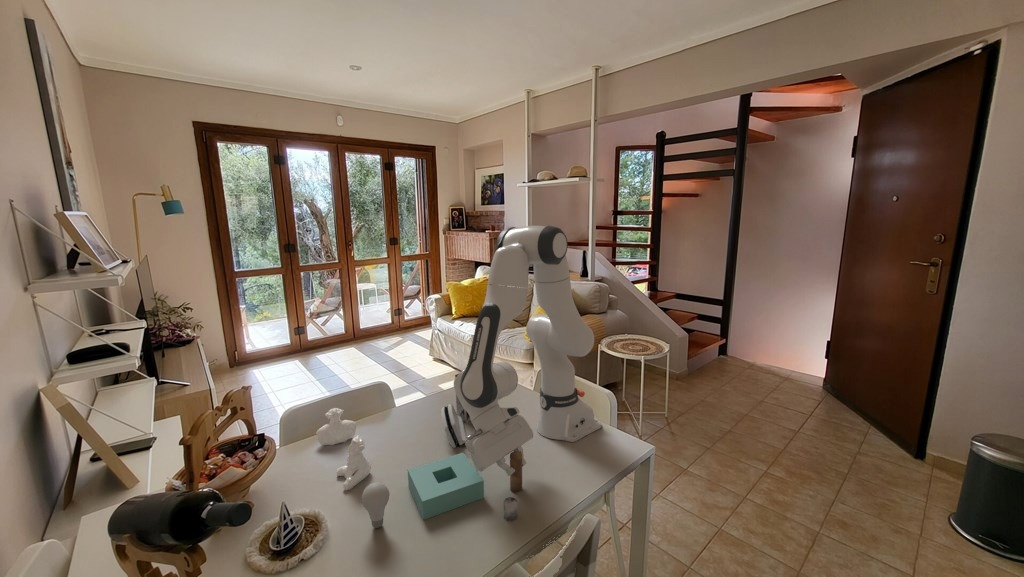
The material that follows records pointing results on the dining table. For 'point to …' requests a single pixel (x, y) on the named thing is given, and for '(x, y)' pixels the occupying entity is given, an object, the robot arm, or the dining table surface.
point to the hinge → (453, 426)
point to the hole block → (445, 485)
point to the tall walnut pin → (516, 472)
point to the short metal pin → (510, 509)
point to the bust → (335, 429)
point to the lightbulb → (375, 502)
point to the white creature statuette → (355, 464)
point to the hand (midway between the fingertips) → (518, 469)
